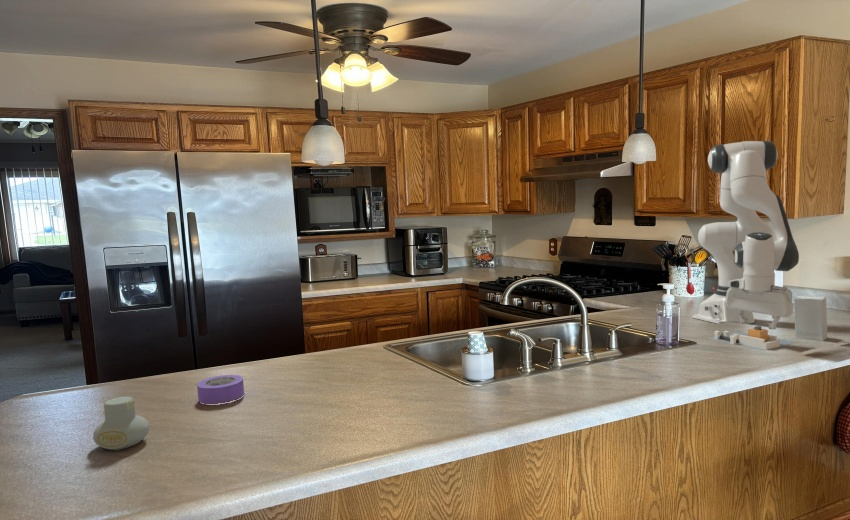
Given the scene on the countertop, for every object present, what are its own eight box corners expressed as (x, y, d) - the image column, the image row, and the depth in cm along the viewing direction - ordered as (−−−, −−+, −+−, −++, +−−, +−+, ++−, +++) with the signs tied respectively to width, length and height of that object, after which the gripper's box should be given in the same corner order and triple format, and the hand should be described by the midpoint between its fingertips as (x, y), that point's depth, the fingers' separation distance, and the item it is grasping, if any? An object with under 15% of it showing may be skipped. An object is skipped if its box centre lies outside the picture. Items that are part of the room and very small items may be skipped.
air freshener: (156, 436, 132) (152, 393, 131) (139, 451, 124) (135, 405, 123) (107, 438, 132) (103, 395, 131) (87, 453, 124) (83, 408, 123)
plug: (747, 344, 188) (748, 326, 188) (755, 342, 190) (755, 324, 189) (759, 347, 185) (760, 328, 184) (767, 345, 186) (767, 326, 186)
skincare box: (827, 340, 193) (828, 296, 192) (822, 344, 189) (823, 299, 187) (798, 337, 199) (799, 294, 198) (793, 340, 195) (794, 296, 194)
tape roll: (196, 408, 150) (194, 389, 150) (200, 395, 162) (199, 377, 161) (243, 402, 153) (242, 384, 153) (245, 390, 165) (243, 372, 164)
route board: (706, 341, 198) (706, 330, 198) (739, 334, 207) (739, 323, 206) (763, 353, 181) (763, 340, 180) (797, 345, 189) (797, 333, 189)
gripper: (797, 286, 178) (796, 330, 180) (735, 279, 196) (734, 319, 198) (785, 289, 175) (784, 333, 177) (723, 281, 193) (722, 322, 195)
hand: (757, 326), depth 187 cm, fingers open, 8 cm apart
